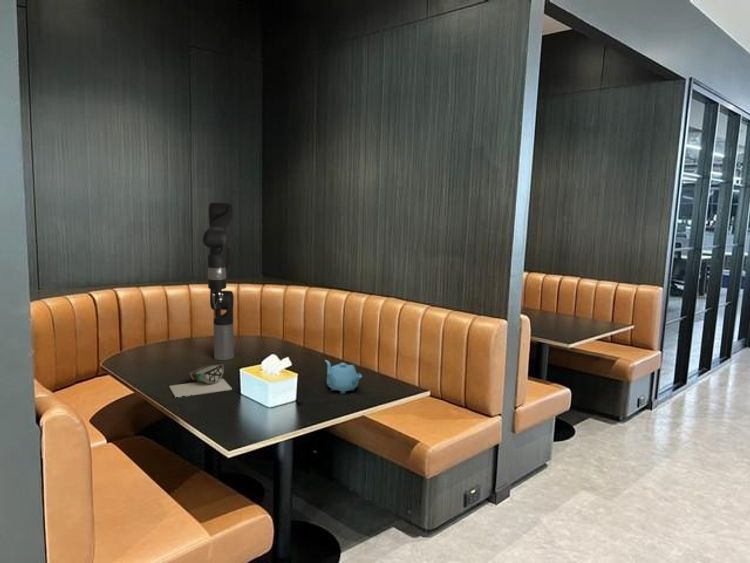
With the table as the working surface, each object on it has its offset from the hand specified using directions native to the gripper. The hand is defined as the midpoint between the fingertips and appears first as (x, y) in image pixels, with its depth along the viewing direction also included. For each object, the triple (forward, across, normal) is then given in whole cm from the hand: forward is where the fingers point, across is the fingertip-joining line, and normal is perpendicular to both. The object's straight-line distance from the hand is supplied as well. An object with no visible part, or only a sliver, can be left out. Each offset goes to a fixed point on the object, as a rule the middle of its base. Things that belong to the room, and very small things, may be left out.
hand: (217, 316), depth 237 cm
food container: (+24, -4, +10) cm, 27 cm away
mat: (+26, -15, +11) cm, 32 cm away
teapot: (+26, -41, -40) cm, 63 cm away
